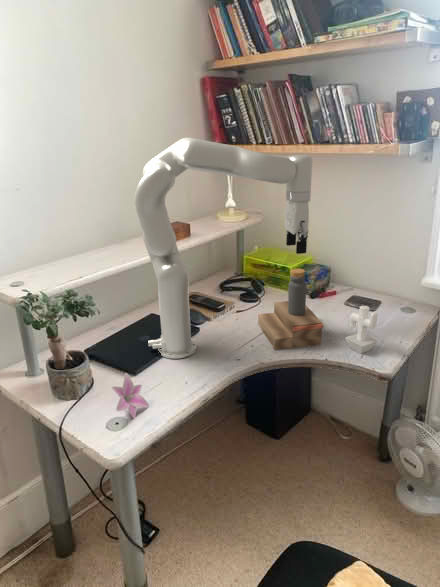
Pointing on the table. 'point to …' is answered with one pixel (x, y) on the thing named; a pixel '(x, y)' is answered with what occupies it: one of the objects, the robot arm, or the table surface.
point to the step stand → (290, 327)
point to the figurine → (362, 330)
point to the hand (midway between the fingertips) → (295, 249)
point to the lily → (130, 396)
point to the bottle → (297, 292)
